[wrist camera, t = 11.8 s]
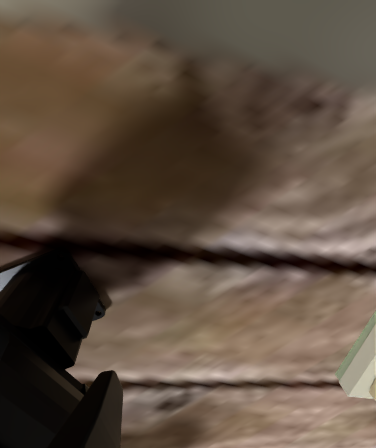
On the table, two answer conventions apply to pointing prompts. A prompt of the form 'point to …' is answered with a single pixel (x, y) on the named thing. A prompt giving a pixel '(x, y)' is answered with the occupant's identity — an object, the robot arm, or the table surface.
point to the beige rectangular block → (373, 390)
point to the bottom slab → (356, 347)
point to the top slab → (361, 369)
